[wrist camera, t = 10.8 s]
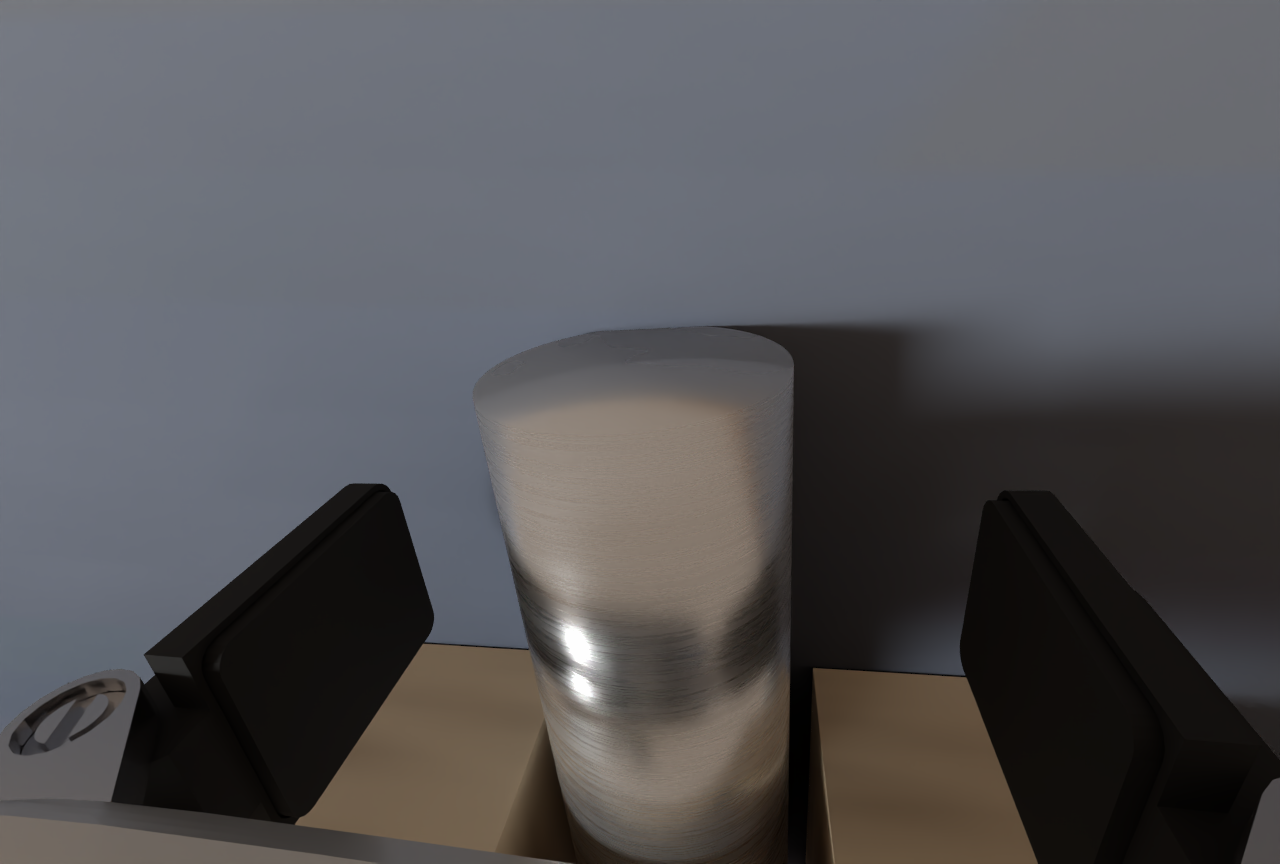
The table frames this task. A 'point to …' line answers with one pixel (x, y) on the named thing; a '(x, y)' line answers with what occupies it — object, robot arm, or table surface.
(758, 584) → the axle
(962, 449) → the table surface
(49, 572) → the table surface
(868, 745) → the beam
